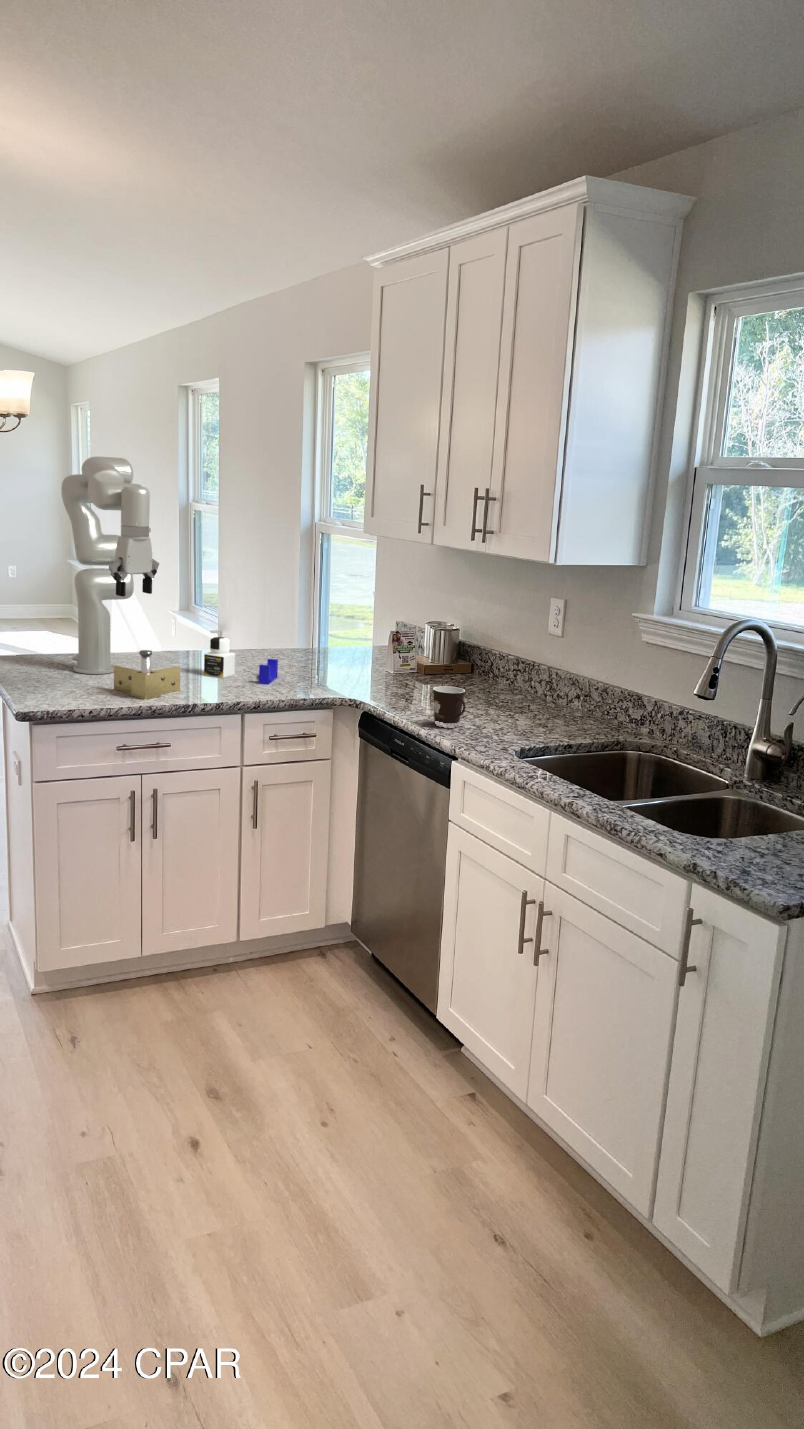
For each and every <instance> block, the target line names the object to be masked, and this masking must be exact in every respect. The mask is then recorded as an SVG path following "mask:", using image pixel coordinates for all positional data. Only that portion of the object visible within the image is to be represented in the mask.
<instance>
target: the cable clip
mask: <svg viewBox="0 0 804 1429" xmlns="http://www.w3.org/2000/svg"><path fill="white" fill-rule="evenodd" d="M266 663H267V664H260V665H259V668H258V669H259V670H258V685H267V686H268V685H270V684H271V683H272V682H274V681H275V680H276V679H277V678H278V668H279V666H278V665H279V660H278V659H274V658H268V659H267V662H266Z"/></svg>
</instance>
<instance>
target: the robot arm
mask: <svg viewBox="0 0 804 1429" xmlns="http://www.w3.org/2000/svg"><path fill="white" fill-rule="evenodd" d="M133 479H134V470H133V467H132V464H131V463H130V462H129V460H128V459H126V458H123V457H114V456H113V457H112V456H111V457H110V456H91V457H89V458H86V459H85V460H84V461H83V463H82V465H81V474H80V473H78V474H77V473H76V474H70V475H68V476H65V478H63V480H62V482H61V499H62V503H63V506H64V509H65V511H66V513H67V516H68V518H69V520H70V524H71V531H72V537H73V539H72V540H73V543H74V544H73V545H74V551H75V556H76V560H77V561H78V562H79V564H80V565H84V566H98V568H94V567H93V568H83V569H81V570H79V571H78V572H76V574H75V577H74V588H75V595H76V603H77V613H78V614H77V623H78V624H77V625H78V626H77V628H78V630H77V631H78V632H77V634H78V636H77V637H78V638H77V639H78V640H77V641H78V645H77V646H78V647H77V648H78V653H77V654H76V655H74V656H72V660H73V661H76V664H75V665H74V666H73V672H75V673H79V674H83V675H84V674H86V675H103V674H112V673H114V665H113V664H111V614H110V610H108V607H106V605H105V604H104V603H103V601H108V600H109V601H112V600H126V599H130V598H131V597H132V596H133V594H134V589H135V588H134V587H135V586H134V585H135V584H134V575H141V574H142V576H143V577H142V585H141V586H142V587H141V588H142V589H141V590H142V593H144V594H150V595H151V594H153V580H154V579H155V575H156V574H157V573H158V570H159V566H160V563H159V562H158V561H157V560H155V559H154V558H153V547H152V541H151V537H150V533H151V530H152V529H151V528H150V505H151V504H150V502H151V500H150V498H151V497H150V496H151V492H150V490H149V488H147V487H145V486H142V485H141V484H139V483H133ZM87 504H93V505H94V506H95V507H96V508H97V509H99V510H104V511H120V535H118V534H104V533H103V532H102V527H101V521H100V518H99V516H98V515H97V514H96V512H95V511H94V510H93V509H92V508H91V507H90V506H89V505H87ZM100 566H103V567H104V566H106V567H107V566H108V568H105V567H104V568H99V567H100Z"/></svg>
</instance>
